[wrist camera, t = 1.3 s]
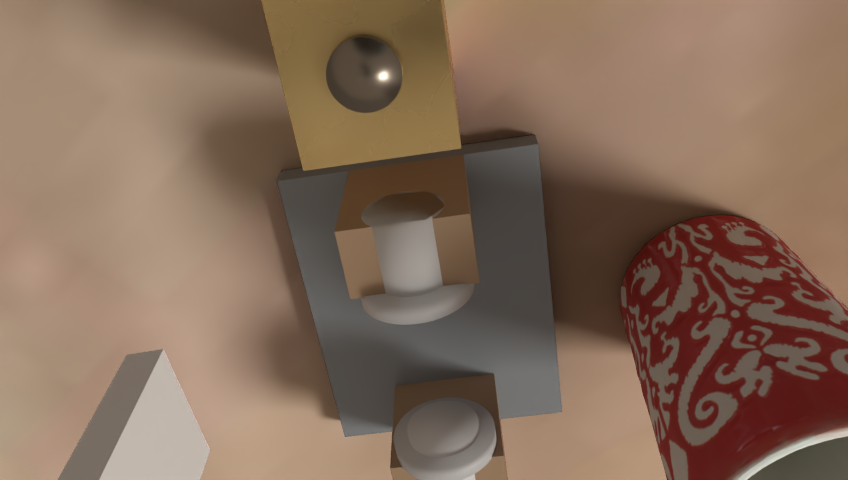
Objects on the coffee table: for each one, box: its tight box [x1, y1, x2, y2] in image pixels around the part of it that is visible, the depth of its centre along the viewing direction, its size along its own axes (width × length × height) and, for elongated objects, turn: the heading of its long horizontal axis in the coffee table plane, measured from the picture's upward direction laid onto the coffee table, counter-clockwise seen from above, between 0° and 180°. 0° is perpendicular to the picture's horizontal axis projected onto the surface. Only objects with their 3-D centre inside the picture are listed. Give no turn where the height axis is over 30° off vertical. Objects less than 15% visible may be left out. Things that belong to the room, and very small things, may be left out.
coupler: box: [261, 0, 461, 171], centre depth 24 cm, size 5×4×8 cm
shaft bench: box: [277, 135, 562, 480], centre depth 30 cm, size 13×10×7 cm
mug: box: [620, 215, 848, 480], centre depth 27 cm, size 13×9×14 cm
